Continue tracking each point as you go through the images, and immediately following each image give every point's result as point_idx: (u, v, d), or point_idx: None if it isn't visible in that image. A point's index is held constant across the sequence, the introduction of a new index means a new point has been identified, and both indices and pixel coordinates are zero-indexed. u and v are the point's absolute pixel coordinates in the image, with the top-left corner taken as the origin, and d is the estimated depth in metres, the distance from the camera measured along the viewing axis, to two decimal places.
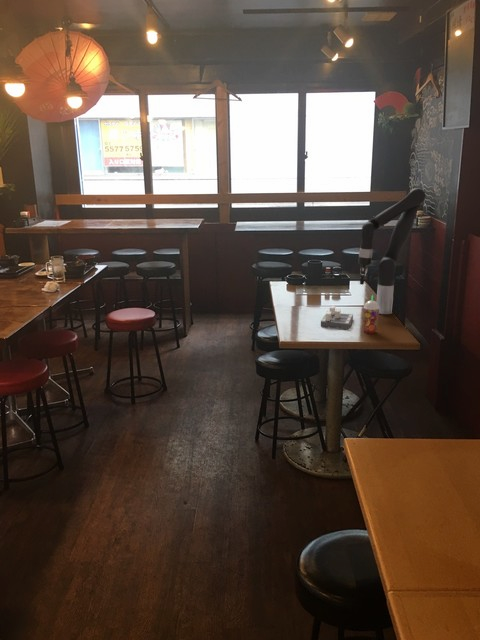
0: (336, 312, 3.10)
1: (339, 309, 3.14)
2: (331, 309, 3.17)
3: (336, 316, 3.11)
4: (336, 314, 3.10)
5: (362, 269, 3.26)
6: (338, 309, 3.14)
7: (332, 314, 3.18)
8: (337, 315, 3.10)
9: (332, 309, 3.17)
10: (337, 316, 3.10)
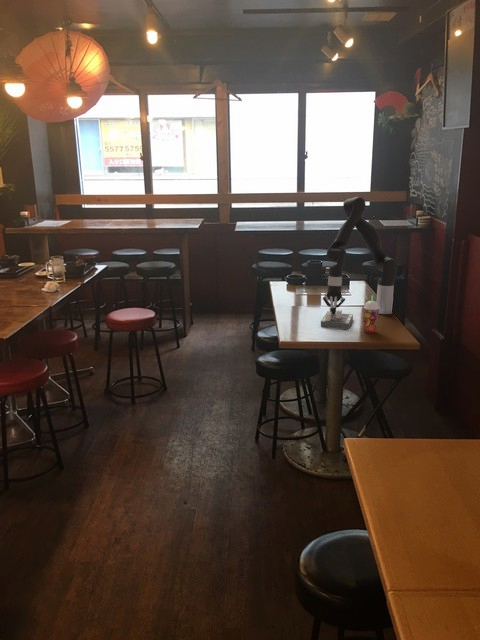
0: (337, 312, 3.10)
1: (340, 309, 3.14)
2: None
3: (337, 316, 3.10)
4: (337, 314, 3.10)
5: None
6: (339, 309, 3.14)
7: (332, 314, 3.18)
8: (338, 315, 3.10)
9: None
10: (338, 316, 3.10)
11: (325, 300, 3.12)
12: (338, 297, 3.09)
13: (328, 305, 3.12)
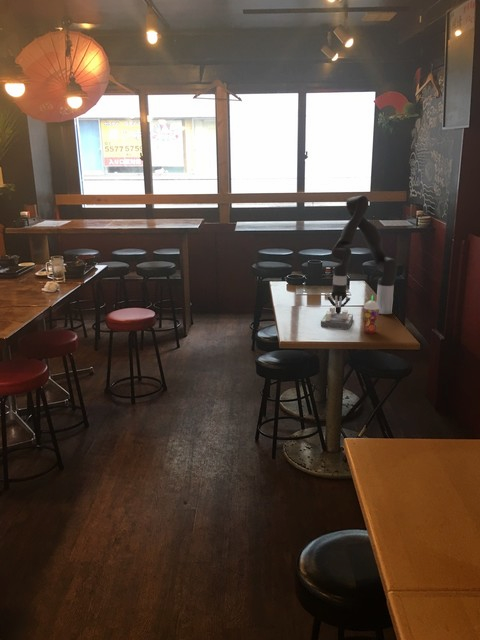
0: (343, 313, 3.09)
1: (346, 310, 3.13)
2: (331, 309, 3.17)
3: (343, 317, 3.09)
4: (343, 315, 3.09)
5: None
6: (345, 310, 3.13)
7: (332, 314, 3.18)
8: (344, 316, 3.09)
9: (332, 309, 3.17)
10: (344, 317, 3.09)
11: (330, 299, 3.10)
12: (343, 296, 3.08)
13: (333, 304, 3.10)
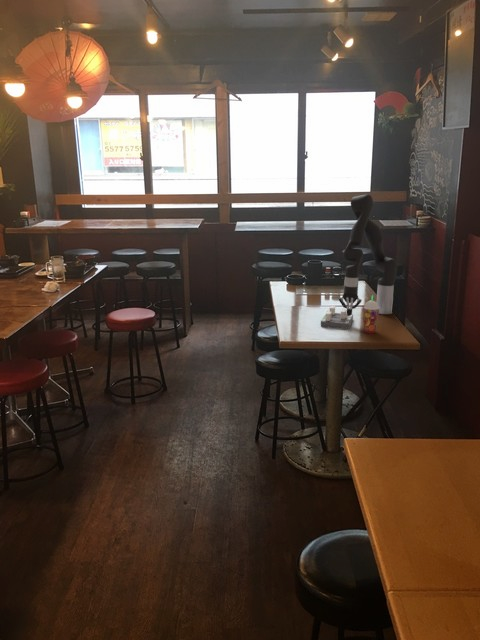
0: (342, 313, 3.09)
1: (345, 310, 3.13)
2: (331, 309, 3.17)
3: (342, 317, 3.10)
4: (342, 315, 3.09)
5: (360, 302, 3.06)
6: (344, 310, 3.13)
7: (332, 314, 3.18)
8: (343, 316, 3.09)
9: (332, 309, 3.17)
10: (343, 317, 3.09)
11: (341, 301, 3.08)
12: (354, 298, 3.06)
13: (344, 306, 3.09)
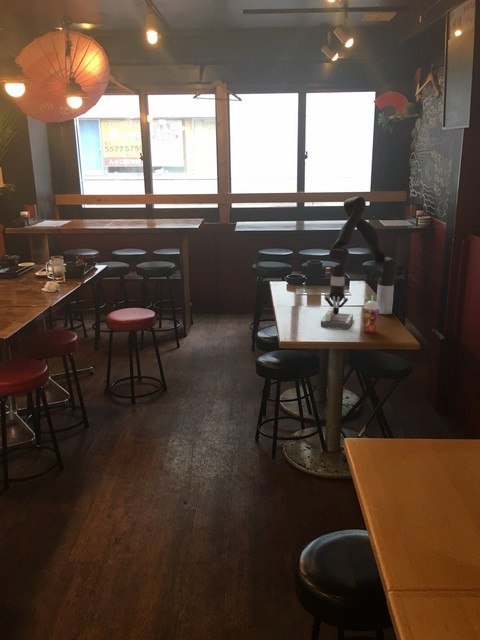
0: (329, 311, 3.11)
1: None
2: None
3: None
4: None
5: (346, 301, 3.08)
6: None
7: None
8: None
9: None
10: None
11: (328, 300, 3.11)
12: (341, 297, 3.08)
13: (331, 305, 3.11)
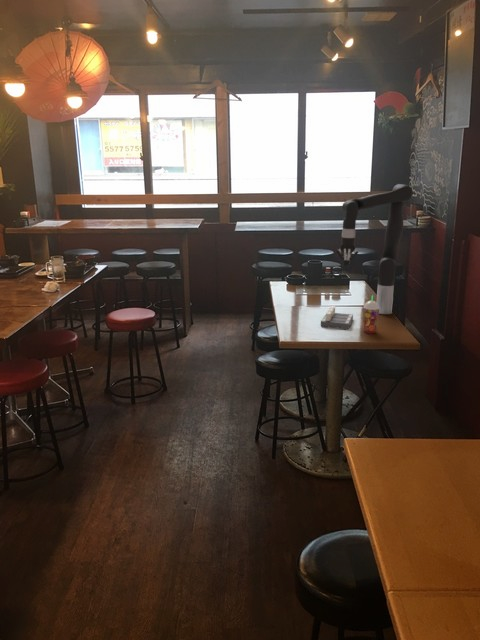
0: (329, 311, 3.11)
1: None
2: None
3: None
4: None
5: (357, 253, 3.18)
6: None
7: None
8: None
9: None
10: None
11: (339, 253, 3.20)
12: (352, 249, 3.17)
13: (342, 257, 3.20)
